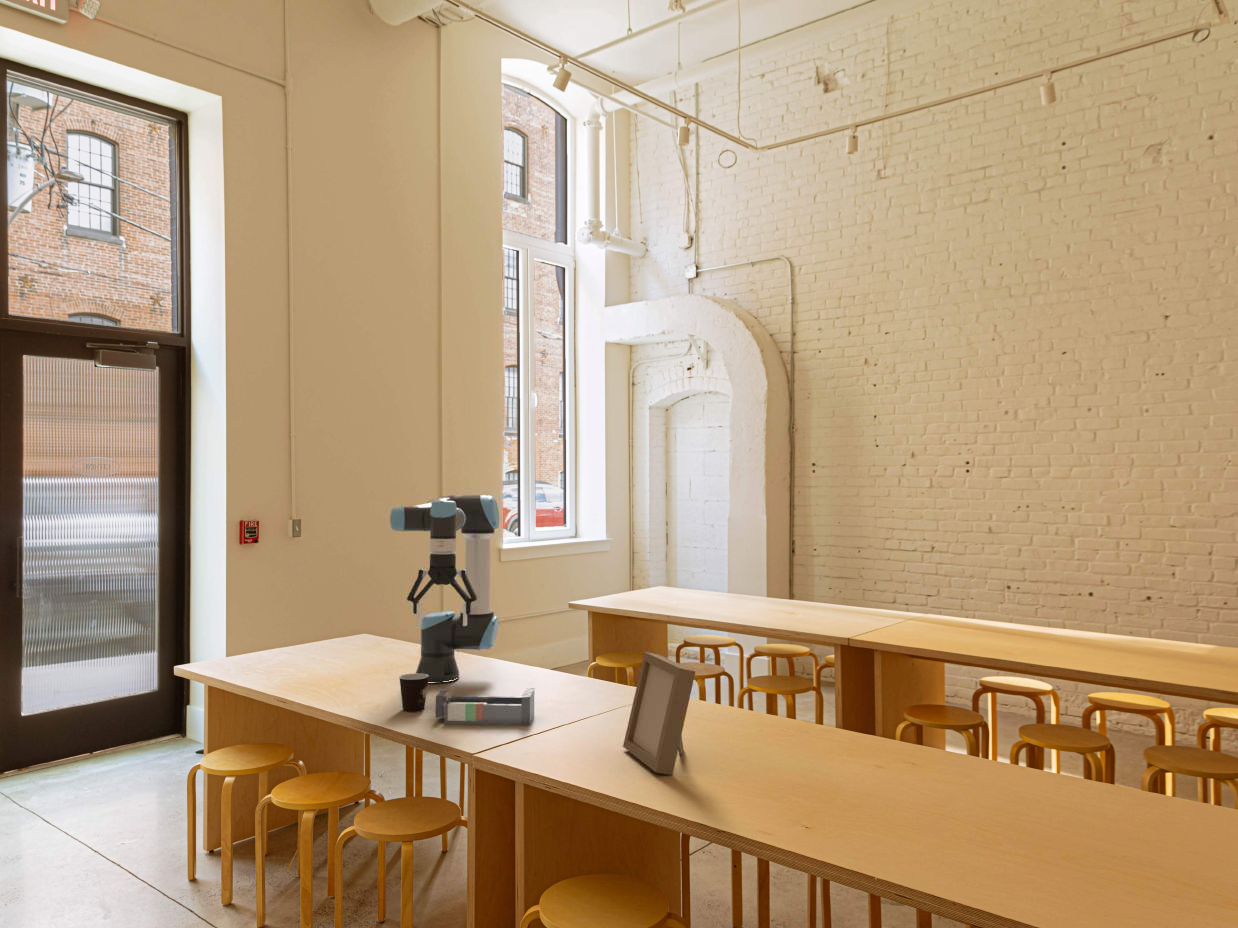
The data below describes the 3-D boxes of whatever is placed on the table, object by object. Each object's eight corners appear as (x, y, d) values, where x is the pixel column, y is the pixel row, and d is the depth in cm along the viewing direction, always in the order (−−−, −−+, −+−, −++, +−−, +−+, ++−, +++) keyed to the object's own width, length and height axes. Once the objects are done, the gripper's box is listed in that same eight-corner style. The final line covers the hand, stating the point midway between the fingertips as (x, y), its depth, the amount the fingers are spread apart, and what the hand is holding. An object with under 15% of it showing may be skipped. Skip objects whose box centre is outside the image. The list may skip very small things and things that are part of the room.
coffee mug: (411, 714, 255) (411, 680, 256) (393, 709, 261) (393, 676, 261) (441, 706, 265) (442, 674, 265) (423, 702, 270) (423, 670, 270)
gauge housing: (452, 714, 256) (452, 687, 256) (534, 715, 256) (534, 688, 256) (444, 724, 245) (444, 696, 245) (529, 725, 244) (529, 697, 245)
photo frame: (655, 776, 202) (657, 669, 203) (622, 750, 222) (624, 652, 223) (712, 770, 207) (714, 666, 208) (675, 745, 227) (676, 650, 228)
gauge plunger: (440, 711, 254) (440, 690, 254) (487, 711, 254) (488, 691, 254) (433, 719, 244) (433, 698, 244) (482, 720, 244) (482, 699, 244)
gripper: (397, 553, 250) (396, 626, 250) (483, 554, 250) (482, 627, 250) (403, 551, 258) (402, 622, 257) (487, 552, 258) (486, 623, 257)
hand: (441, 625), depth 253 cm, fingers open, 13 cm apart
